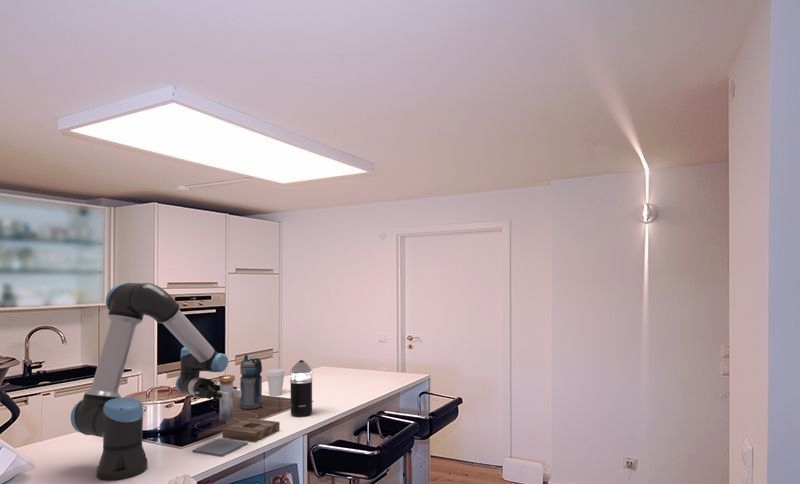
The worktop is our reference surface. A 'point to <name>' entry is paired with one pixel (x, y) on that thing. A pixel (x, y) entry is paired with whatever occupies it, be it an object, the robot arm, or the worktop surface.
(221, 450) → the rubber pad
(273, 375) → the foam cup
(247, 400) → the beverage bottle
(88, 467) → the worktop surface
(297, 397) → the black coffee grinder
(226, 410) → the steel plug
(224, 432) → the bore block
